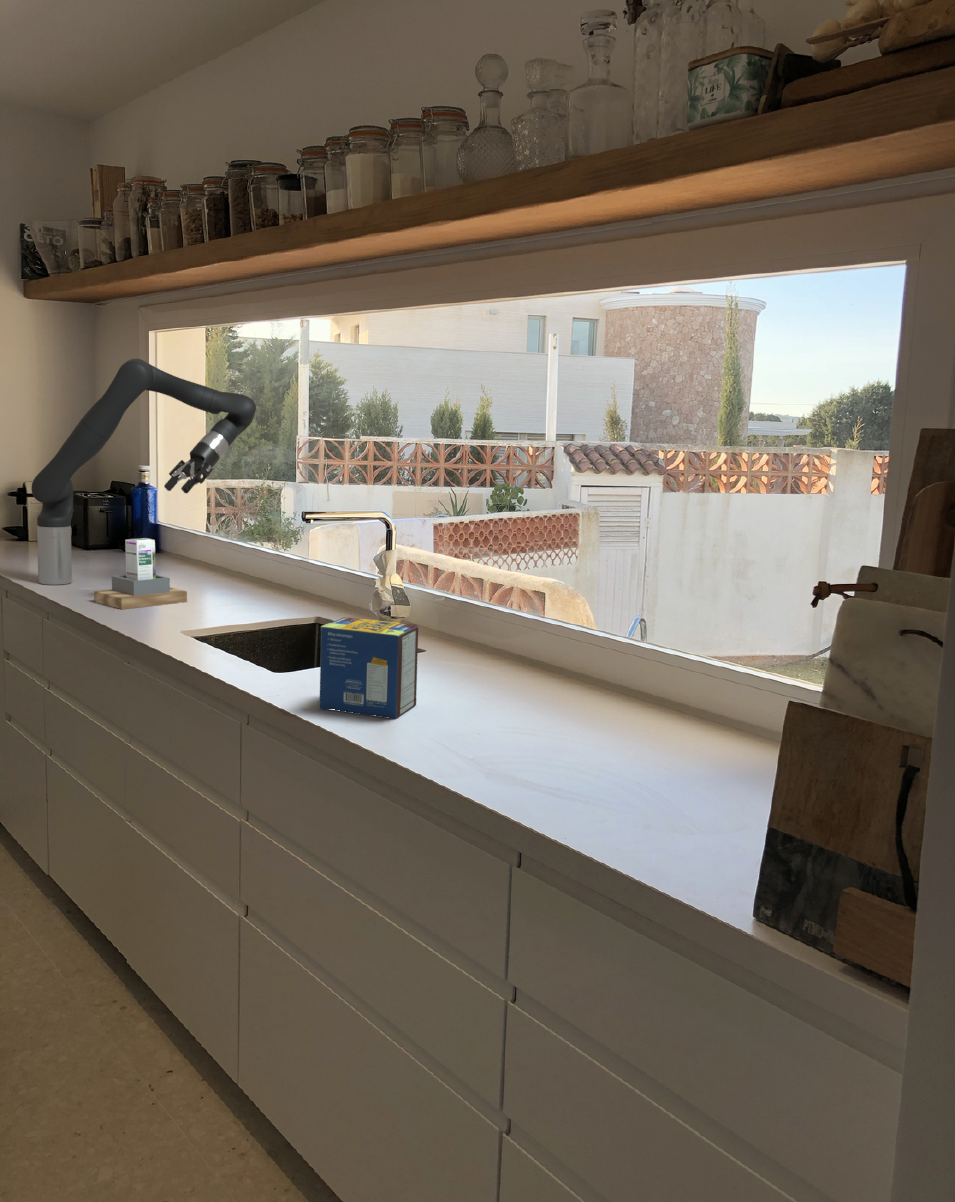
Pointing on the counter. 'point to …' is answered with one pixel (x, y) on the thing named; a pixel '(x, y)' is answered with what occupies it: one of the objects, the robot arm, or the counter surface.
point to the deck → (138, 598)
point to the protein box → (368, 667)
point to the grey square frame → (140, 585)
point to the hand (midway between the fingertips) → (175, 490)
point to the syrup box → (140, 559)
